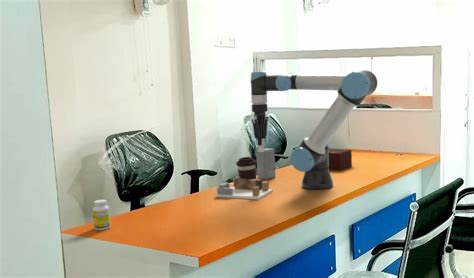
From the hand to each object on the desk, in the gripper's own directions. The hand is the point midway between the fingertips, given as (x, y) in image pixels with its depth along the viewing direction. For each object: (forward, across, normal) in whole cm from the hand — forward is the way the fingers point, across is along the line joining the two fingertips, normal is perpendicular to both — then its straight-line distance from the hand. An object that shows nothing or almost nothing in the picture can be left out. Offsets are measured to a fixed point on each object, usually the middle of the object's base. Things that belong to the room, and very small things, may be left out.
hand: (261, 151), depth 272 cm
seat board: (+19, +13, -2) cm, 23 cm away
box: (+19, -64, +9) cm, 68 cm away
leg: (+17, +7, -4) cm, 19 cm away
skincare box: (+19, -25, -12) cm, 33 cm away
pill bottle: (+19, +83, -25) cm, 89 cm away
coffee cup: (+19, +1, -8) cm, 20 cm away
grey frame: (+19, -4, -16) cm, 25 cm away
